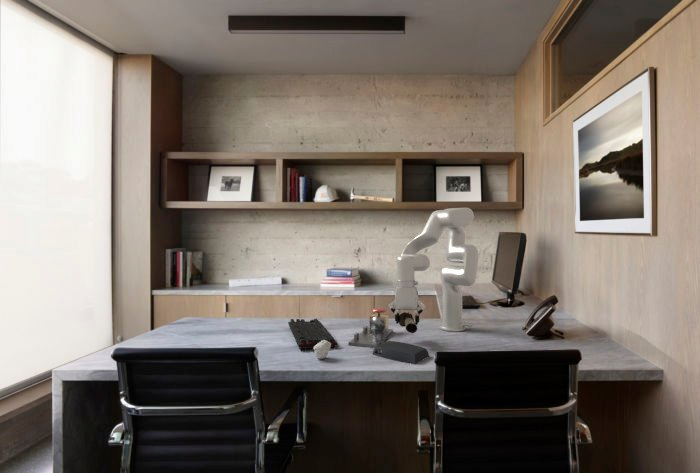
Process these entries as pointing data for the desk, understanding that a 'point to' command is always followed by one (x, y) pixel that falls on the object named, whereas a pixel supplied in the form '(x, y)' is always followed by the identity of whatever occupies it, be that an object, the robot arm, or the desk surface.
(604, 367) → the desk surface
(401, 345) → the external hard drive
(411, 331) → the morel mushroom
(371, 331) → the stand
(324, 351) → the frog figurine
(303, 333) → the keyboard
